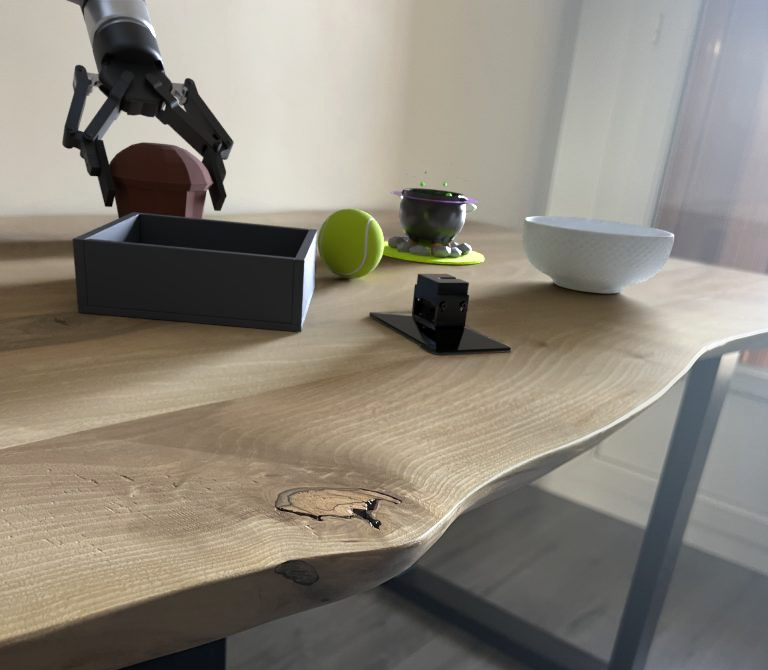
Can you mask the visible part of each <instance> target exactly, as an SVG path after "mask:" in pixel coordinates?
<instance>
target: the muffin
mask: <svg viewBox="0 0 768 670" xmlns="http://www.w3.org/2000/svg"><path fill="white" fill-rule="evenodd" d="M109 166H110V170H111V173H112V177H113V181H114V185H115V189H116V193H115V197H114V201H115V207H116V211H117V217H118V219H119V218H121V217H123V216H126V215H128V214H130V213H132V212H137V213H147V214H158V215H168V216H179V217H189V218H200V219H204V213H205V204H206V198H207V191H209V190H208V189H210V188H211V186H212V184H213V183H214V182H213V181H212V179H211V177H210V175H209V172H208V170H207V169H206V167H205V166H204V165H203V163H202V160H200V159H199V158H198V157H196V156H195V155H194V154H192V153H191V152H190V151H188V149H186V148H183V147H180V146H178V145H174V144H168V143H159V142H144V141H143V142H137V143H132V144H131V145H129V146H127V147H124V149H121V150H120V151H119V152H118V153H116V154H115V155H114V157H113V158H112V159H111V160H110V161H109Z"/></svg>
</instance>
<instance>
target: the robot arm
mask: <svg viewBox="0 0 768 670" xmlns="http://www.w3.org/2000/svg"><path fill="white" fill-rule="evenodd" d="M66 1H67V2H70V3H72V4H75V5H78V6H79V7H80V8H79V9H80V10H81V14H82V16H83V20H84V24H85V27H86V31H87V35H88V38H89V42H90V45H91V48H92V54H93V58H94V63H95V66H96V70H97V73H94V72H88V71H87V68H86V67H85V66H84V65H82V64H76V65H75V66H74V70H73V71H74V73H73V78H72V89H73V95H72V99H71V102H70V105H69V109H68V113H67V115H66V119H65V123H64V127H63V134H62V141H61V144H62V146H63V147H64V149H65V148H66V149H68V150H71V149H73V148H75V149H77V150H79V157H81V159H82V160H84V164H85V168H86V172H87V174H88V176H90V177H97V181H98V184H99V188H100V192H101V196H102V200H103V204H104V207H106V208H113V205H114V201H115V193H116V189H115V185H114V181H113V177H112V173H111V170H110V166H109V164H110V161H109V159H108V158H109V157H108V155H107V150H106V146H105V142H104V140H103V138H104V136H105V135H106V133H107V132H108V131H109V129H110V127H111V126H112V124H113V123H114V121H117V119H118V118H119V117H120V115H121V114H122V112H124V113H125V114H126V115H127V116H134V117H135V116H144V117H147V118H156V119H157V120H158V121H159V122H160V123H161V124H162V125H164V126H166V125H168V126H169V127H170V128H171V129H172V130H173V131H174V132H175V133H176V134H177V135H178V136H179V137H180V138H181V139H183V140H184V141H185V143H187V144H188V145H189V146H190V147H191V148H192V149H193V150H194V151H196V153H197V154H198V155H200V156H201V157H202V160H201V162H202V163H203V165H204V166H205V167H206V169H207V170H208V172H209V175H210V177H211V179H212V181H213V182H214V183H213V184H212V186H211V188H210V189H208V190H207V191H208V194H209V197H210V201H211V204H212V208H213V210H214V211H215V212H221V211H222V208H223V206H224V204H225V201H226V199H227V196H228V194H227V192H226V189H225V186H224V181H225V179H226V176H227V170H226V166H225V163H224V161H227V160H228V159H229V157H230V154H231V151H232V149H233V147H234V145H235V144H234V143H235V142H234V139H232V138H231V136H230V134H229V133H228V131H226V129H225V128H224V127H223V125H222V124H221V122H220V121H219V119H218V118H217V117H216V115H215V114H214V113H213V111H212V110H211V109H210V107H209V106H208V105H207V103H206V102H205V101H204V99H203V98H202V97H201V95H200V94H199V91H198V88H197V85H196V83H195V80H193V79H192V78H190V77H186V78H185V79H184V82H183V83H181V82H172V81H171V79H170V78H169V77H168V76H167V73H166V71H165V65H164V62H163V59H162V54H161V51H160V47H159V44H158V41H157V39H156V33H155V30H154V26H153V23H152V20H151V16H150V14H149V10H148V7H147V3H146V0H66ZM95 88H98V90H99V91H100V92H101V93H102V94H103V95H104V96H105V97H106V99H105V101H104V102H103V104H102V105H101V107H100V108H99V110H98V111H97V112H96V114H95V115H94V117H93V118H92V119H91V120H90V122H89V123H88V125H87V126H86V128H85V129H84V130H83V131H82V130H80V126H81V123H82V118H83V115H84V110H85V107H86V102H87V97H90V95H91V94H92V93H94V90H95Z"/></svg>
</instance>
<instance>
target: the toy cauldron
mask: <svg viewBox="0 0 768 670" xmlns="http://www.w3.org/2000/svg"><path fill="white" fill-rule="evenodd" d="M422 163H426V161H422ZM434 164H437V162H434ZM439 164H440V163H439ZM439 164H437V165H439ZM445 164H446V163H444V162H443V165H445ZM439 166H440V165H439ZM450 166H453V163H452V164H450ZM427 173H428V172H427V171H426V170H425V171H424V175H426V176H427V175H429V174H427ZM405 175H407V176H408V173H405ZM412 176H413V175H412ZM413 177H415V176H413ZM453 178H454V179H455V178H456V177H453ZM426 179H428V180H430V178H426ZM458 179H460V180H461V178H460V177H458ZM435 180H439V179H435ZM462 181H464V182H467V180H466V179H464V178H462ZM419 185H420V186H421V187H422V188H421V187H420V188H419V187H407V188H405V189H402V190H397V191H396V190H395V191H389V193H390V194H391V195H392V194H393V195H394V196H398V198H399V199H401V200H400V202H399V213H398V214H399V215H398V218H399V223H400V226H401V230H402V231H403V233H404V234H405V236H392V237H391V238H389V239H388V240H387V241H384V250H383V254H382V256H386V257H391V258H394V259H399V260H404V261H411V262H418V263H425V264H438V265H475V264H476V265H477V264H481V263H483V262H485V256H484V255H483V254H481V253H480V252H477V251H474V250H472V246H471V245H470V244H467V243H466V242H463V243H460V244H459V243H457V242H455V241H453V240H455V238H456V237H458V235H460V233H461V231H462V229H463V227H464V224H465V221H466V215H467V214H471V213H473V212H475V211H476V210H477V206H476V205H475V204H474V203H479V200H477V199H474V198H470V197H467V196H465V194H463V193H460V192H457V191H449V190H442V189H433V188H423V187H424V186H425V183H424V182H423V181H421V182H420V184H419ZM442 186H443V187H446V186H447V182H445V181H444V182H443V183H442ZM466 205H469V206H471V207H472V209H470V210H467V207H466Z"/></svg>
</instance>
